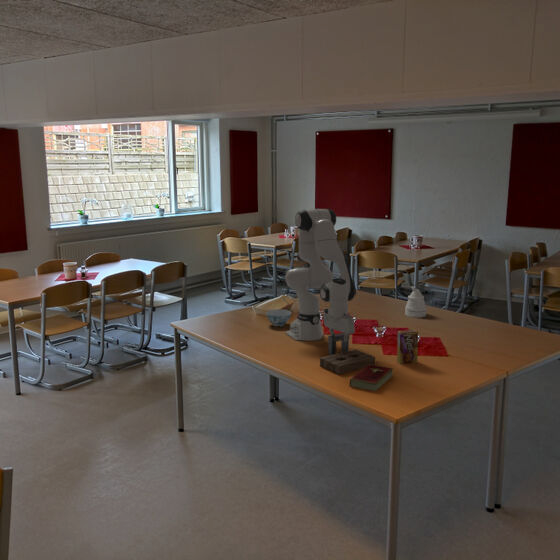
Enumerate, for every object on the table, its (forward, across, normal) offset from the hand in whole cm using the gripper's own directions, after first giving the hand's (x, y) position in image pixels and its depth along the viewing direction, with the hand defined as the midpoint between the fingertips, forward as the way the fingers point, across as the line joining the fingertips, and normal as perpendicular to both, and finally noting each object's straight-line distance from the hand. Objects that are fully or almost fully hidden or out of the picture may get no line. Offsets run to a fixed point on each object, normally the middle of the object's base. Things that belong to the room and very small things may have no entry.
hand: (338, 338), depth 278 cm
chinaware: (+9, +64, -6) cm, 65 cm away
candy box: (+9, -27, -20) cm, 35 cm away
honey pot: (+8, +33, -89) cm, 95 cm away
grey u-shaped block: (+8, 0, 0) cm, 9 cm away
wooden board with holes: (+8, -14, +6) cm, 17 cm away
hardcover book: (+9, -35, +10) cm, 38 cm away
